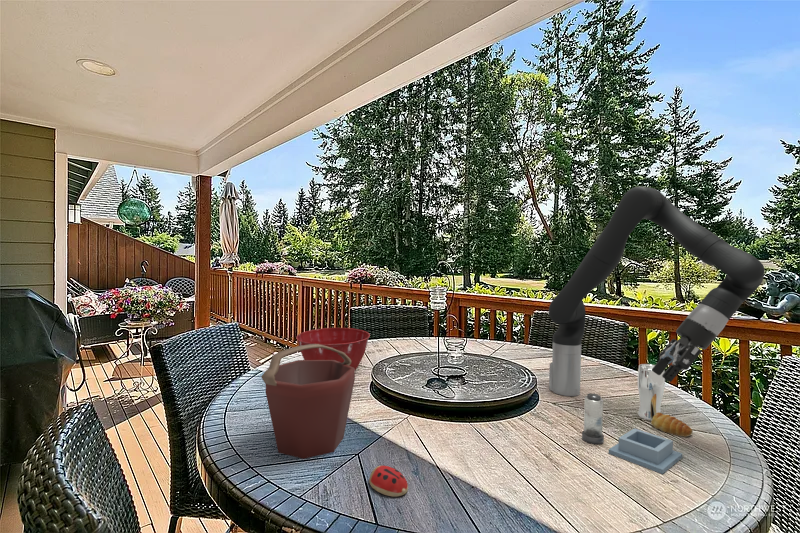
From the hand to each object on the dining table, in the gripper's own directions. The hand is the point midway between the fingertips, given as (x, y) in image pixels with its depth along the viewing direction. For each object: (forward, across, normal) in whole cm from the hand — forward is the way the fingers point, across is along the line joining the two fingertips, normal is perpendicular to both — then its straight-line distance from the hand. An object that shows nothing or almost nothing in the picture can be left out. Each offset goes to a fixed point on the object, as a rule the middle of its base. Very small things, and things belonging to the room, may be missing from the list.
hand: (660, 376), depth 109 cm
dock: (+18, +7, +6) cm, 20 cm away
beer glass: (+11, -20, +11) cm, 25 cm away
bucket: (+67, +23, -60) cm, 92 cm away
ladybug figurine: (+53, +36, -38) cm, 75 cm away
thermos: (+24, +1, -3) cm, 24 cm away
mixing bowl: (+72, -32, -78) cm, 111 cm away
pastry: (+10, -12, +14) cm, 21 cm away
